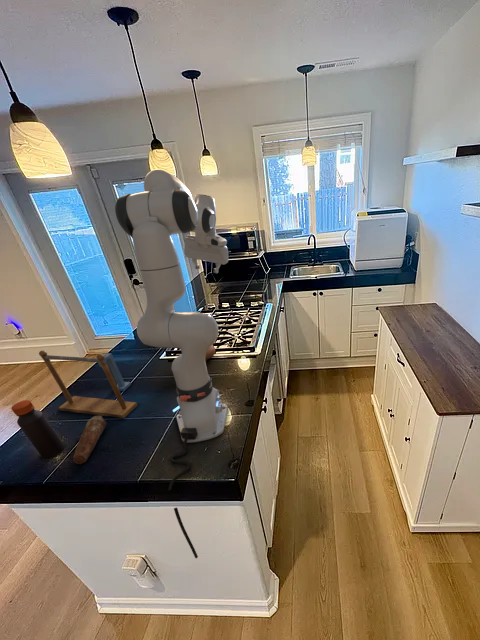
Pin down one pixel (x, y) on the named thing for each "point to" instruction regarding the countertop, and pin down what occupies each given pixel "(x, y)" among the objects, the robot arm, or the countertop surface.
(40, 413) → the bottle
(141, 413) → the countertop surface
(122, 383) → the hanger
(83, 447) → the bread
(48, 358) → the rail stand
